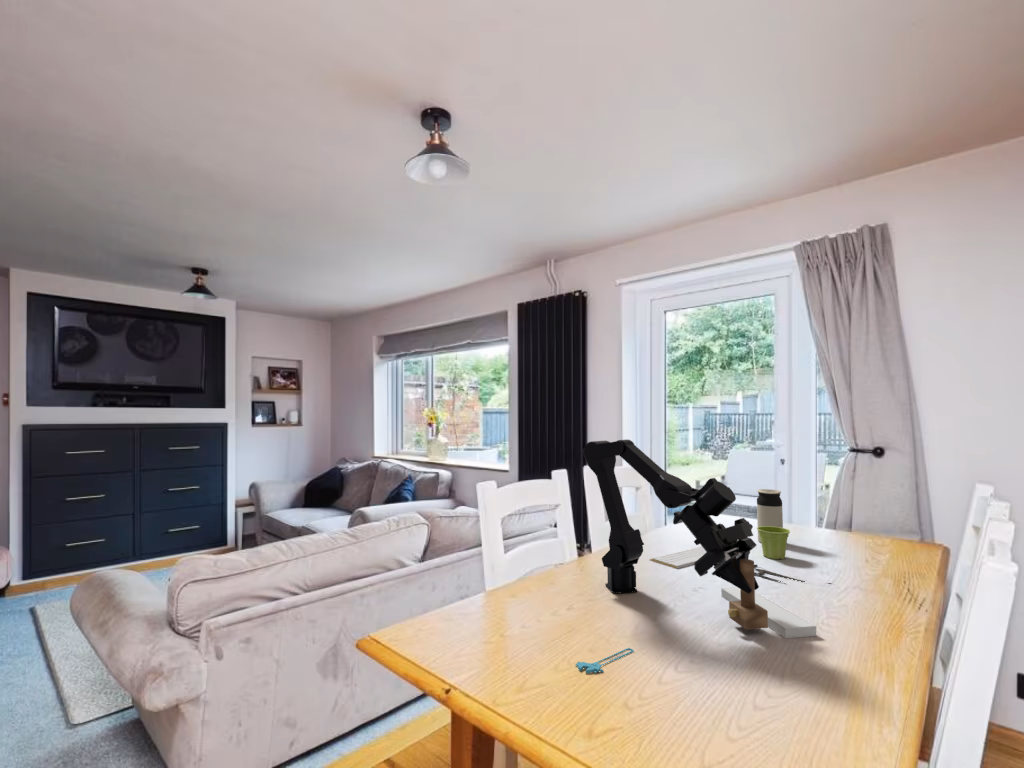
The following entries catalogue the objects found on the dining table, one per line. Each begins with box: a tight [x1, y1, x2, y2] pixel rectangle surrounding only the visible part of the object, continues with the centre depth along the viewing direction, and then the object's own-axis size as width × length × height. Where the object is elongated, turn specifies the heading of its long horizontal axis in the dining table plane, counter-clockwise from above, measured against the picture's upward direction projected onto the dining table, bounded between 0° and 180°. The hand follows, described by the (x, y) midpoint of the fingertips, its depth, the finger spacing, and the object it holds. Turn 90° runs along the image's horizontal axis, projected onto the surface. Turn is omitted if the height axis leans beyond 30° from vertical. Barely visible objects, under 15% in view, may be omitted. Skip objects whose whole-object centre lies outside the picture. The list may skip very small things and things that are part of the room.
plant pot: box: [756, 526, 791, 560], centre depth 163 cm, size 9×9×9 cm
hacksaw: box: [754, 566, 806, 583], centre depth 143 cm, size 24×10×2 cm, turn 36°
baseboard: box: [649, 545, 706, 570], centre depth 165 cm, size 31×3×12 cm
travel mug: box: [756, 488, 784, 543], centre depth 181 cm, size 8×8×18 cm
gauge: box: [727, 558, 769, 630], centre depth 110 cm, size 7×6×13 cm
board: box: [720, 586, 817, 639], centre depth 118 cm, size 7×24×2 cm, turn 8°
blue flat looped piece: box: [575, 647, 635, 674], centre depth 97 cm, size 14×1×5 cm
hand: (754, 590), depth 109 cm, fingers closed on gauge, 3 cm apart
